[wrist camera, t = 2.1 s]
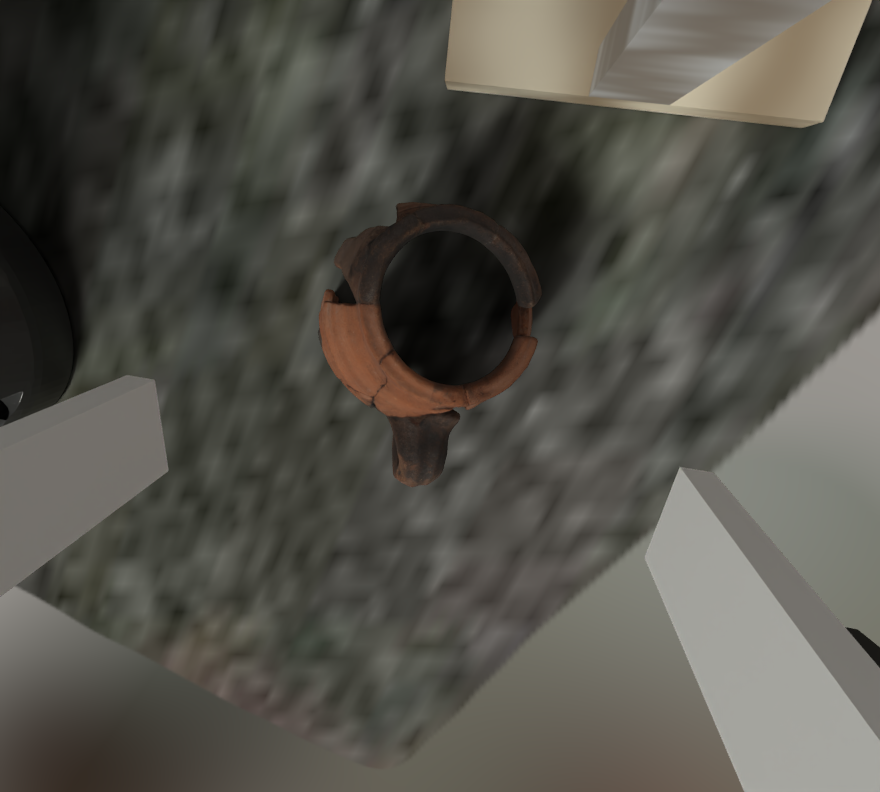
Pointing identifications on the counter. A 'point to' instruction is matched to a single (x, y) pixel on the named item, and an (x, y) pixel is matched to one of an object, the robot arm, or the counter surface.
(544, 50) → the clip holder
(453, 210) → the pottery mug
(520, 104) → the counter surface
